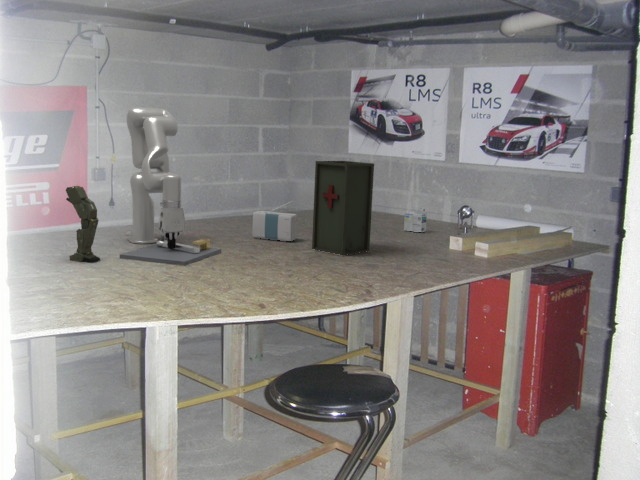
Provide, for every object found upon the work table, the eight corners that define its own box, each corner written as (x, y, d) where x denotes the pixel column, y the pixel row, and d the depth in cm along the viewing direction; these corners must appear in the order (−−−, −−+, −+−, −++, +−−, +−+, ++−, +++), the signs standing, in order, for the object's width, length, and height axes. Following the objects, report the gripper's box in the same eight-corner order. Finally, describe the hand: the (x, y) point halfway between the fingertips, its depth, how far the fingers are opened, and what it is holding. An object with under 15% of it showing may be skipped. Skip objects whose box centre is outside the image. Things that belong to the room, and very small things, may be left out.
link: (154, 245, 290) (154, 234, 290) (163, 244, 294) (163, 233, 293) (192, 253, 276) (192, 241, 276) (201, 252, 280) (201, 240, 279)
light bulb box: (426, 232, 375) (427, 213, 373) (421, 233, 369) (422, 214, 368) (408, 230, 381) (409, 211, 379) (403, 231, 375) (404, 212, 373)
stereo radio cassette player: (251, 238, 330) (252, 197, 327) (259, 236, 337) (260, 196, 334) (290, 243, 322) (292, 201, 319) (297, 240, 330) (299, 199, 327)
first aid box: (369, 251, 308) (374, 163, 302) (342, 256, 295) (347, 163, 288) (338, 245, 320) (342, 160, 314) (311, 249, 307) (315, 161, 300)
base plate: (119, 258, 270) (119, 254, 270) (161, 246, 300) (161, 242, 300) (184, 265, 262) (184, 261, 261) (221, 252, 292) (221, 248, 291)
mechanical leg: (110, 258, 264) (94, 182, 261) (98, 262, 257) (81, 184, 254) (81, 263, 268) (65, 188, 266) (69, 266, 262) (52, 190, 259)
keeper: (192, 251, 283) (192, 241, 282) (203, 247, 292) (203, 238, 291) (199, 252, 282) (199, 242, 281) (210, 248, 291) (210, 239, 290)
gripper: (161, 206, 272) (160, 251, 275) (192, 204, 282) (191, 248, 285) (151, 204, 277) (150, 248, 280) (182, 202, 288) (181, 245, 291)
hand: (171, 248), depth 283 cm, fingers closed
